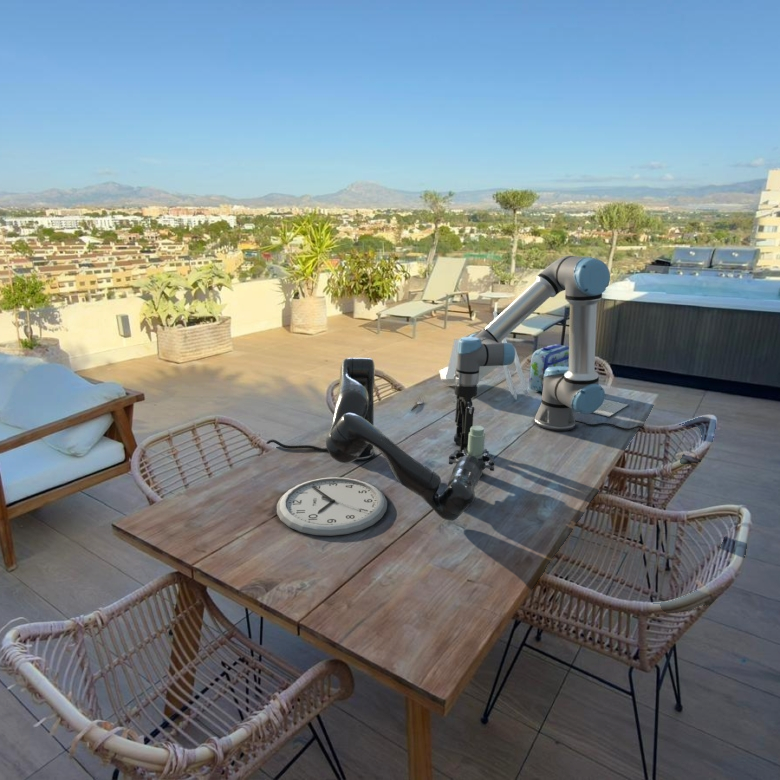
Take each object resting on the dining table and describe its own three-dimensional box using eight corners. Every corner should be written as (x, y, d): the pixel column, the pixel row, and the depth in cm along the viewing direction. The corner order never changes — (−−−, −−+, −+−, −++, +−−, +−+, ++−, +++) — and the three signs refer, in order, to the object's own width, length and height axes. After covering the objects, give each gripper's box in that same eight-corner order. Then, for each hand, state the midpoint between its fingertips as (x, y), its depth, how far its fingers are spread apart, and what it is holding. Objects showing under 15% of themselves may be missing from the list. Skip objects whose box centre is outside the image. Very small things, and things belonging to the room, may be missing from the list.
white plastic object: (461, 429, 252) (437, 405, 227) (444, 352, 274) (420, 323, 250) (535, 404, 240) (518, 377, 215) (510, 326, 262) (492, 293, 237)
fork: (408, 411, 216) (408, 407, 215) (419, 400, 230) (419, 396, 229) (414, 412, 215) (414, 407, 214) (425, 401, 229) (425, 396, 229)
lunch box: (545, 397, 238) (550, 352, 231) (524, 391, 245) (529, 348, 239) (572, 386, 255) (578, 344, 249) (552, 381, 262) (557, 340, 256)
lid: (469, 445, 178) (469, 439, 177) (453, 443, 179) (453, 437, 178) (470, 439, 183) (471, 433, 182) (454, 437, 184) (455, 431, 183)
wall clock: (392, 527, 129) (268, 531, 127) (391, 533, 130) (269, 537, 127) (383, 473, 158) (282, 475, 155) (383, 478, 158) (282, 480, 156)
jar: (483, 477, 160) (486, 431, 156) (467, 477, 160) (470, 430, 156) (480, 470, 165) (483, 425, 161) (465, 470, 165) (468, 425, 160)
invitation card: (608, 416, 214) (573, 407, 224) (608, 416, 214) (573, 408, 224) (628, 404, 229) (594, 396, 238) (628, 405, 229) (594, 397, 238)
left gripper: (441, 481, 151) (453, 458, 166) (491, 489, 147) (499, 465, 162) (442, 457, 149) (455, 436, 164) (493, 465, 144) (501, 442, 160)
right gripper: (448, 376, 183) (444, 437, 190) (463, 392, 165) (458, 459, 172) (469, 376, 184) (465, 437, 191) (485, 391, 166) (480, 458, 173)
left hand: (476, 450), depth 163 cm, fingers closed on jar, 5 cm apart
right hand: (461, 447), depth 181 cm, fingers closed on lid, 5 cm apart
